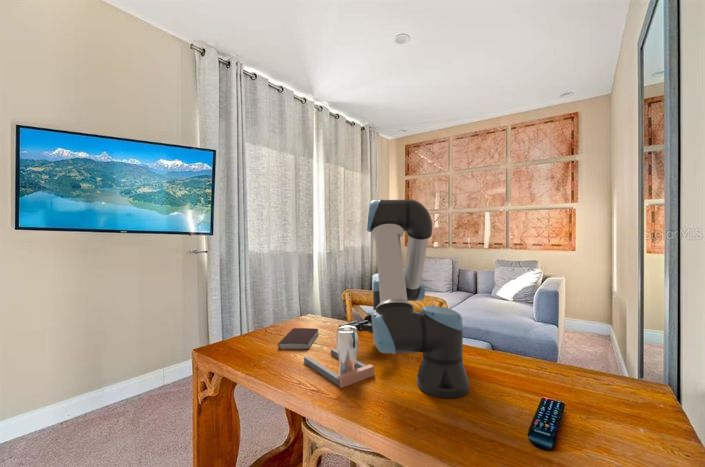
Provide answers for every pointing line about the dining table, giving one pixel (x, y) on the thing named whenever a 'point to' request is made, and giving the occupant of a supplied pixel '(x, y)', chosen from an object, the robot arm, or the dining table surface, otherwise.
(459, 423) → the dining table surface
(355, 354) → the shiny metal tumbler
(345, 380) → the guide channel
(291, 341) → the book
